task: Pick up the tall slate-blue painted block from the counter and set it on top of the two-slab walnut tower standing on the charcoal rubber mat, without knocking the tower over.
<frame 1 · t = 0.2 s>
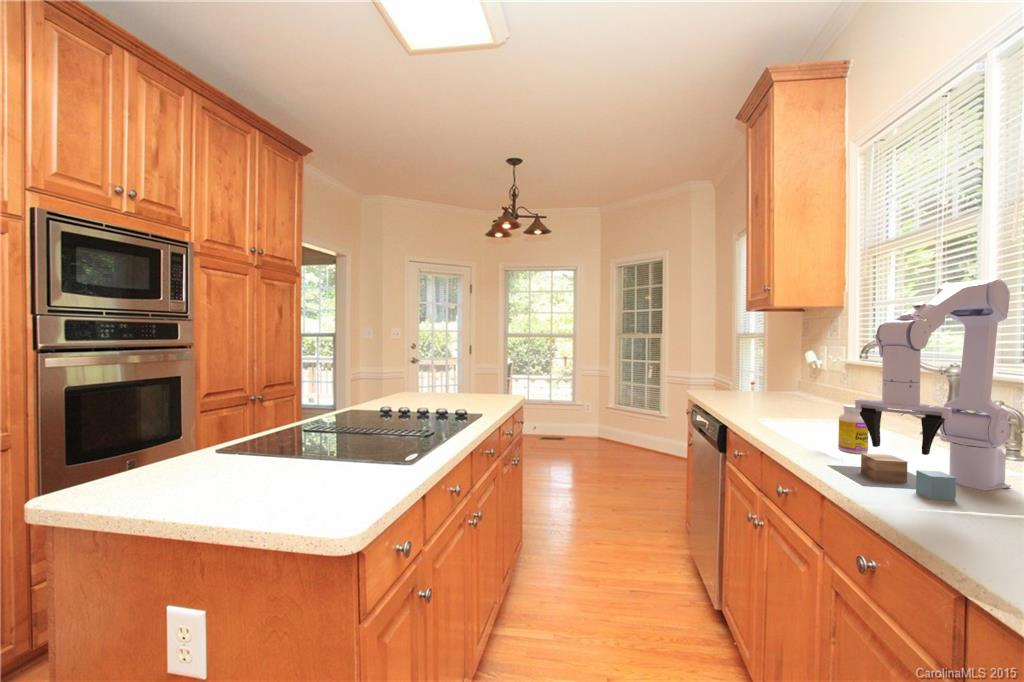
hand: (900, 449, 91), 10 cm above the countertop, fingers open, 7 cm apart
slab bottom: (883, 476, 104), resting on mat, touching slab top
blue block: (935, 498, 92), on the countertop
supplement bottle: (852, 452, 128), on the countertop
slab top: (883, 467, 104), point 3 cm above the countertop, touching slab bottom
mat: (883, 478, 104), on the countertop
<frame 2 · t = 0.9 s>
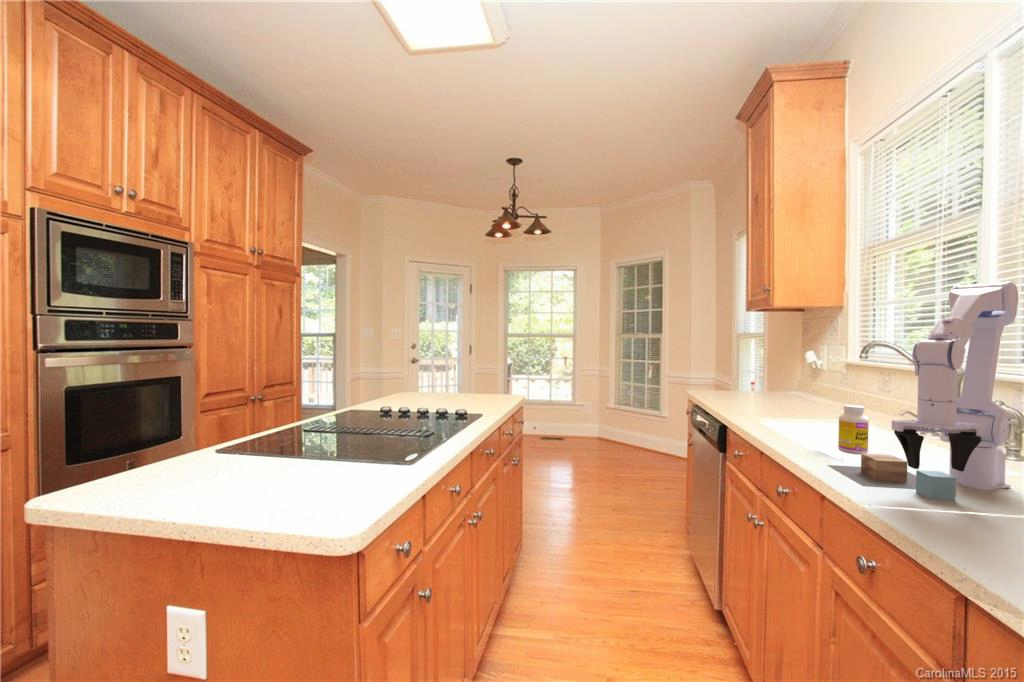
hand: (935, 468, 92), 6 cm above the countertop, fingers open, 7 cm apart
nothing on the countertop moved.
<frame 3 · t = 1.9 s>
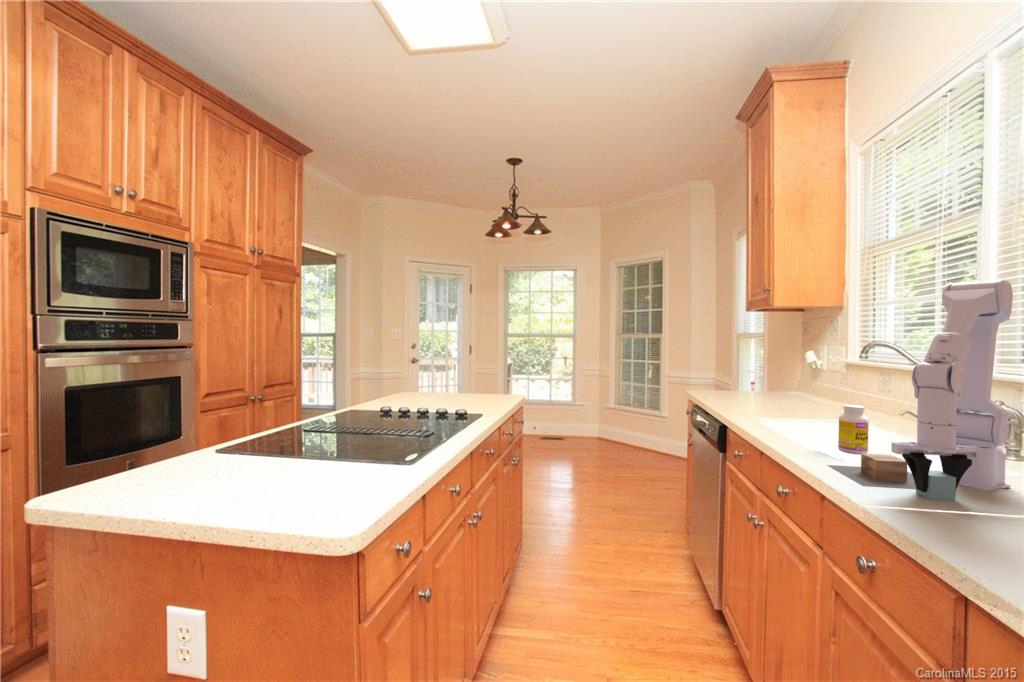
hand: (935, 491, 92), 1 cm above the countertop, fingers closed on blue block, 4 cm apart
blue block: (935, 498, 92), on the countertop, touching gripper
everything else where it was.
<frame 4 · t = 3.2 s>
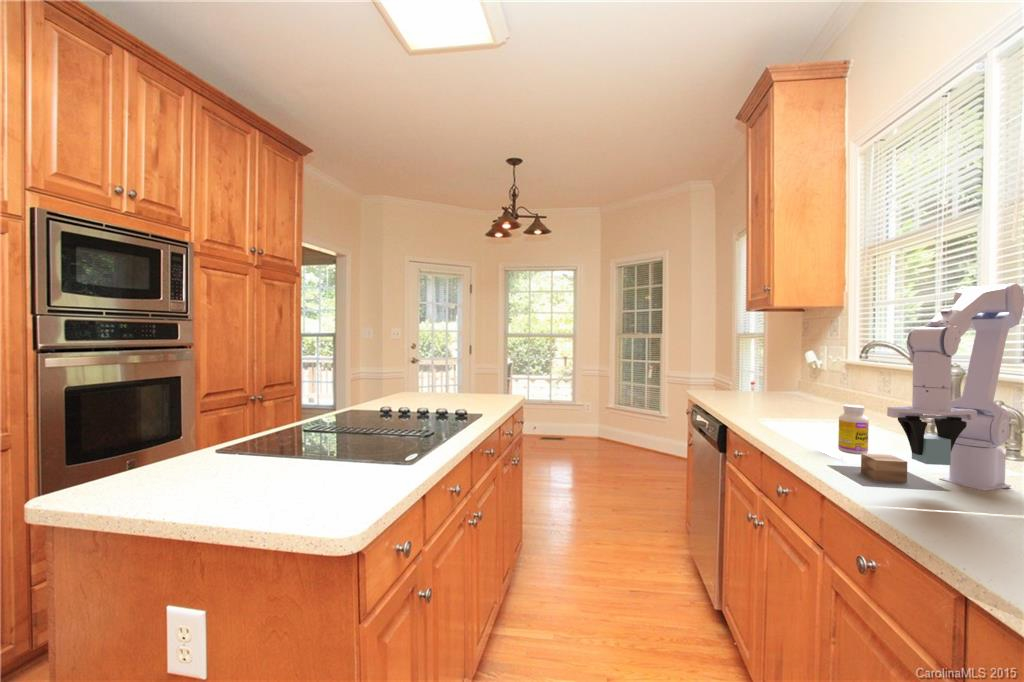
hand: (930, 454, 93), 8 cm above the countertop, fingers closed on blue block, 4 cm apart
blue block: (930, 461, 93), point 7 cm above the countertop, touching gripper
everything else where it was.
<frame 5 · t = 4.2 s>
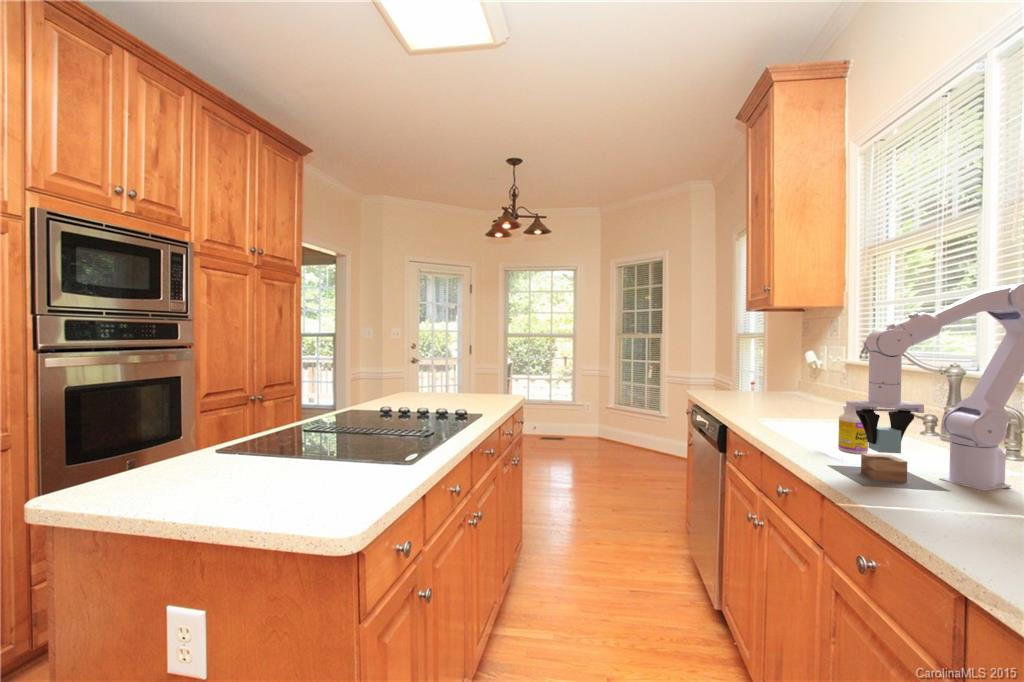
hand: (883, 443, 104), 8 cm above the countertop, fingers closed on blue block, 4 cm apart
blue block: (884, 450, 104), point 6 cm above the countertop, touching gripper
everything else where it was.
when the fingers open (7 cm above the countertop, at t = 4.8 s): blue block stays where it is, resting on slab top.
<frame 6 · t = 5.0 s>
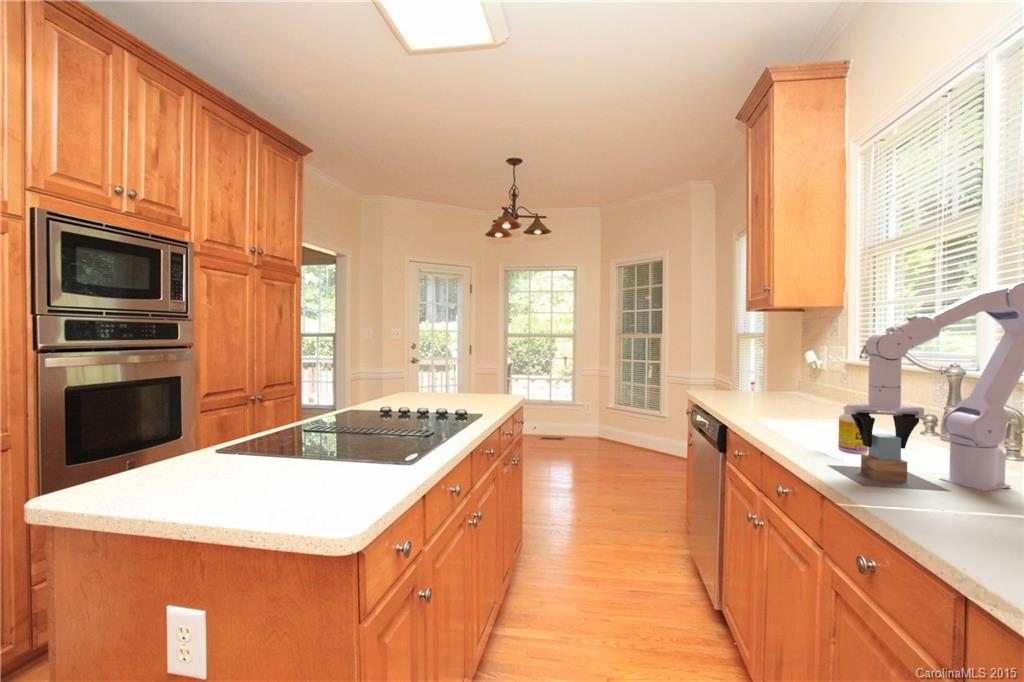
hand: (883, 446, 104), 7 cm above the countertop, fingers open, 6 cm apart
blue block: (884, 457, 104), point 5 cm above the countertop, touching slab top
slab top: (883, 467, 104), point 3 cm above the countertop, touching blue block, slab bottom
everything else where it was.
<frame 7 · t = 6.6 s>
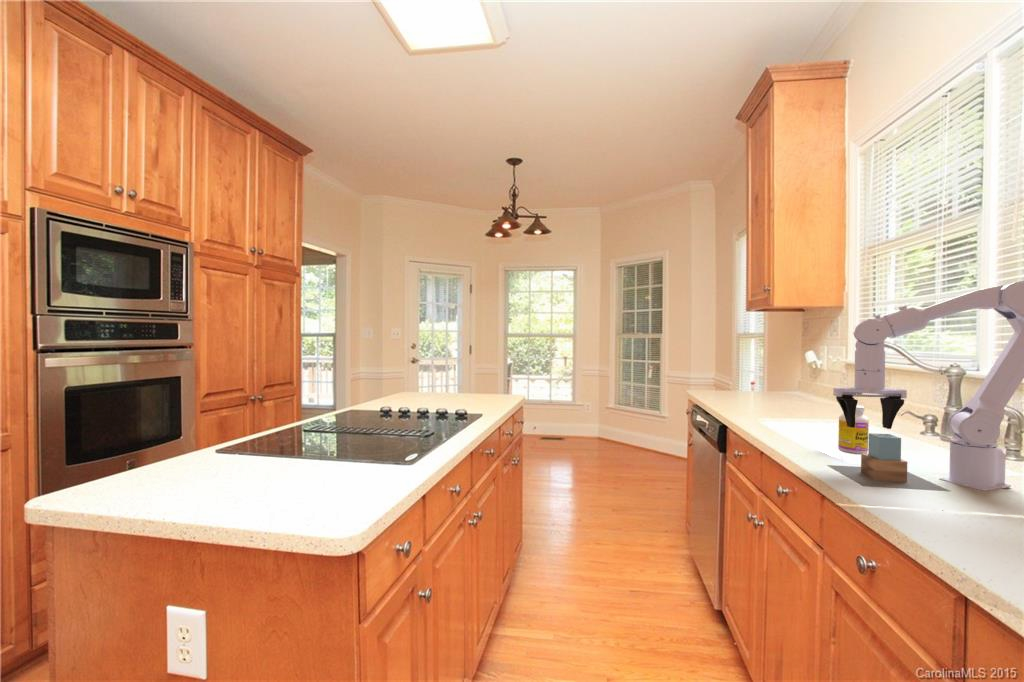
hand: (868, 427, 110), 10 cm above the countertop, fingers open, 7 cm apart
nothing on the countertop moved.
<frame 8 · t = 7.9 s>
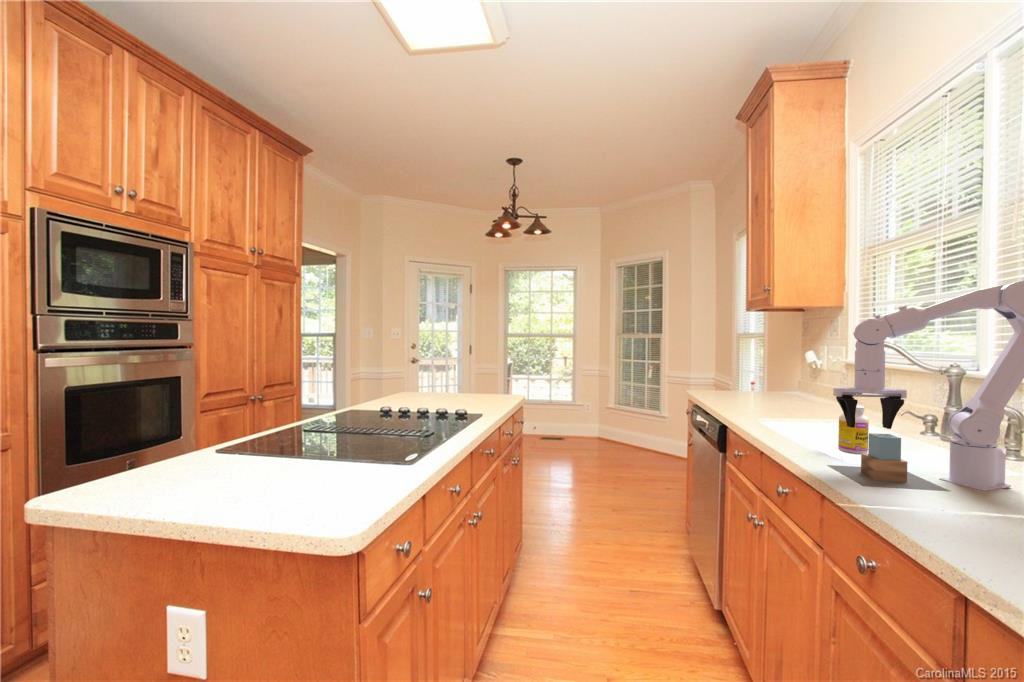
hand: (868, 427, 110), 10 cm above the countertop, fingers open, 7 cm apart
nothing on the countertop moved.
at the end: blue block 0.3 cm off-centre on the slab top, point 2.2 cm above the slab top's base; slab top 0.0 cm off-centre on the slab bottom, point 2.2 cm above the slab bottom's base; blue block tilted 0° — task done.
